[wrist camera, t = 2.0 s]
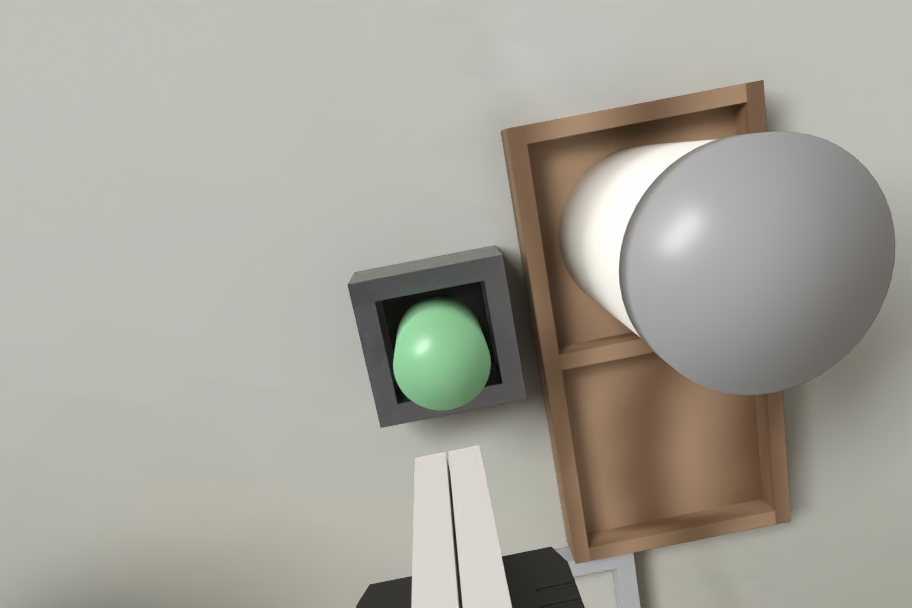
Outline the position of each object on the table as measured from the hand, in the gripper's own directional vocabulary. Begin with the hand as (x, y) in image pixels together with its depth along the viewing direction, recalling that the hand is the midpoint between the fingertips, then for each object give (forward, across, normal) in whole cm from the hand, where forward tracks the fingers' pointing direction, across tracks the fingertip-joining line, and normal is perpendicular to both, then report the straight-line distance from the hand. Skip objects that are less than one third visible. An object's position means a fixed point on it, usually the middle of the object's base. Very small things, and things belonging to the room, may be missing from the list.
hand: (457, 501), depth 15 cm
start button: (+14, 0, 0) cm, 14 cm away
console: (+16, 0, 0) cm, 16 cm away
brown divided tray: (+16, +10, -2) cm, 20 cm away
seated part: (+16, +10, +3) cm, 19 cm away
